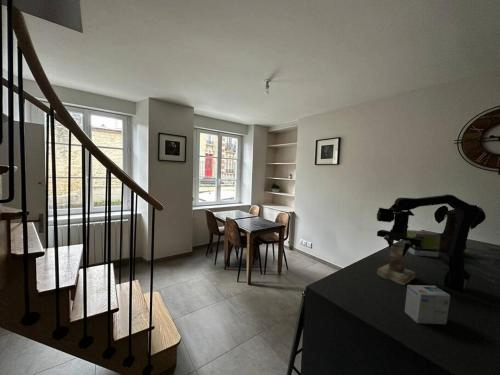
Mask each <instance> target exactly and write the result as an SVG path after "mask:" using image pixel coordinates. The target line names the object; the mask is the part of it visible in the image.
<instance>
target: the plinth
mask: <svg viewBox="0 0 500 375" xmlns="http://www.w3.org/2000/svg"><path fill="white" fill-rule="evenodd" d="M389 263H390V262H389ZM389 263H387V264H384V265H383V266H382V265H381V267H378V268H377V271H376V275H377V276H378V277H382V278H383V279H386V280H388V281H389V280H390V281H393V282H395V283H397V284H399V285H403V286H405V285H408V283H410V282H411V281H412V280H413V279H415V277H416V272H415V271H413V270H410V269H407V268H404V271H403V272H401V273H398V272H395V271H392V270H390V269H389Z"/></svg>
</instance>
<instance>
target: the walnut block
mask: <svg viewBox="0 0 500 375" xmlns="http://www.w3.org/2000/svg"><path fill="white" fill-rule="evenodd" d="M405 265H406V261H405V260H403V259H399V258H396V257H393V258H390V259H389V269H390V270H392V271H395V272H398V273H401V272H403V271H404V269H405Z"/></svg>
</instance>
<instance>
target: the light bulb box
mask: <svg viewBox="0 0 500 375" xmlns="http://www.w3.org/2000/svg"><path fill="white" fill-rule="evenodd" d="M406 287H407V288H406V297H405V304H404V305H405V306H404V312H405V314H407V315H408V316H409V317H410V318H411V319H412V320H413V321H414V322H416V323H417V324H427V325H428V324H429V325H431V324H434V325H447V322H448V316H449V314H448V313H449V307H450V301H451V295H450V294H449V293H447V292H446V291H444V290H443V289H440V288H439V287H437V286H436V285H417V284H414V285H413V284H407V286H406Z"/></svg>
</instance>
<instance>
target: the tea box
mask: <svg viewBox="0 0 500 375" xmlns="http://www.w3.org/2000/svg"><path fill="white" fill-rule="evenodd" d="M438 234H439V233H435V232H431V231H429V230H428V231H427V230H417V229H415V230H413V229H412V230H411V229H407V237H409V238H413V237H418V238H422V239H424V245H422V246H416V245H413V246H411V247H410V248H409V250H408V251H407V253H410V254H411V255H413V256H422V257H434V258H438V257H440V256H439V255H440V254H439V253H440V251H439V247H440V235H438ZM405 243H407V242H406V241H405Z"/></svg>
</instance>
